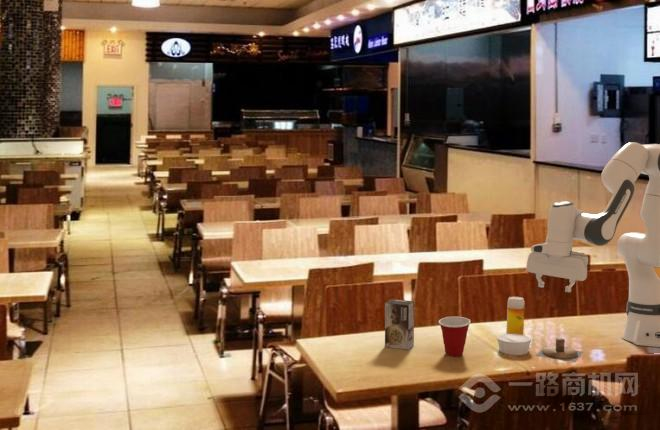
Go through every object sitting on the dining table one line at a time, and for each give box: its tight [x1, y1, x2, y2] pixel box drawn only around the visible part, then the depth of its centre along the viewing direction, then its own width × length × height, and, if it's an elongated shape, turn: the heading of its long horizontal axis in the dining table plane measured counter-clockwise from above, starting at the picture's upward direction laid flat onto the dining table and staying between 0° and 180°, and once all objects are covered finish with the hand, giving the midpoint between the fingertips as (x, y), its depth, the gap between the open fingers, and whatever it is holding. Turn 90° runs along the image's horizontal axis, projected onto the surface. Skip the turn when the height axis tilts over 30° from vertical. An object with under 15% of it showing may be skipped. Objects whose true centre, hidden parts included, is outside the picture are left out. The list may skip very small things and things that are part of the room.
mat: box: [535, 345, 584, 363], centre depth 262 cm, size 13×13×1 cm
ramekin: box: [496, 333, 532, 356], centre depth 265 cm, size 11×11×5 cm
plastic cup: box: [438, 316, 471, 357], centre depth 262 cm, size 11×11×12 cm
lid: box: [541, 337, 578, 360], centre depth 262 cm, size 12×12×5 cm
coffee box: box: [384, 298, 415, 350], centre depth 270 cm, size 9×6×16 cm
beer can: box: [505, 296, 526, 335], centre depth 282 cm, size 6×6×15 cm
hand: (554, 289), depth 261 cm, fingers open, 8 cm apart
